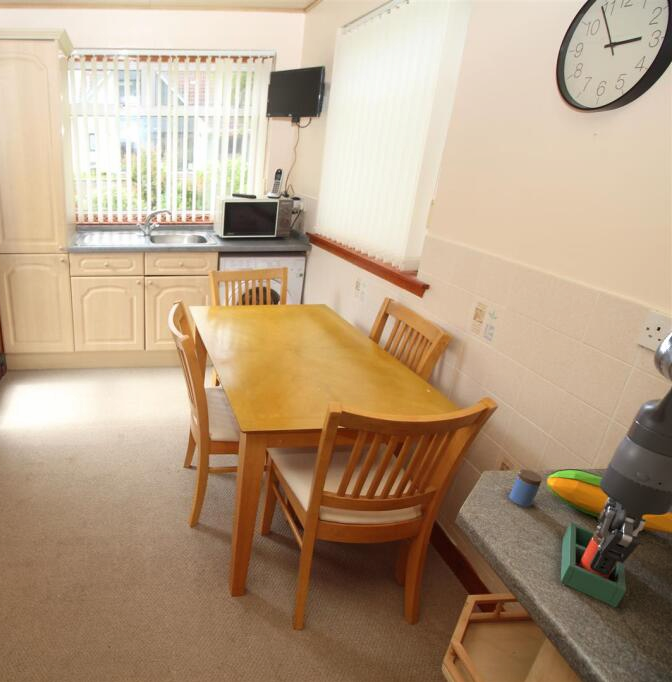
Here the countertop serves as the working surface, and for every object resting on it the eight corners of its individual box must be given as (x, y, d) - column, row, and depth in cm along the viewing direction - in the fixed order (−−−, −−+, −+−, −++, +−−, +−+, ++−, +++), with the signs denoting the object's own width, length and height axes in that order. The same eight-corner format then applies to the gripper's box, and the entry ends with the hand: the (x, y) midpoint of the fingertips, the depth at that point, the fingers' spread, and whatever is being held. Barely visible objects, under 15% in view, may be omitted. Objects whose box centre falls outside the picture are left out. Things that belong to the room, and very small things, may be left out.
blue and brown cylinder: (532, 500, 92) (543, 474, 90) (530, 509, 90) (542, 484, 87) (510, 491, 94) (520, 466, 92) (508, 500, 92) (518, 475, 89)
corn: (556, 452, 94) (700, 500, 82) (542, 482, 97) (679, 532, 85) (553, 471, 89) (706, 525, 77) (539, 502, 92) (684, 558, 80)
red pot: (609, 567, 74) (625, 538, 71) (610, 582, 71) (627, 551, 69) (579, 555, 76) (594, 526, 74) (579, 568, 73) (595, 539, 71)
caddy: (612, 558, 79) (621, 542, 78) (616, 607, 70) (626, 590, 69) (562, 537, 83) (570, 522, 82) (560, 582, 74) (569, 565, 73)
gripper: (692, 510, 59) (634, 608, 66) (676, 460, 69) (627, 549, 76) (613, 483, 64) (566, 577, 70) (609, 440, 74) (568, 525, 80)
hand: (598, 562), depth 73 cm, fingers closed on red pot, 3 cm apart
